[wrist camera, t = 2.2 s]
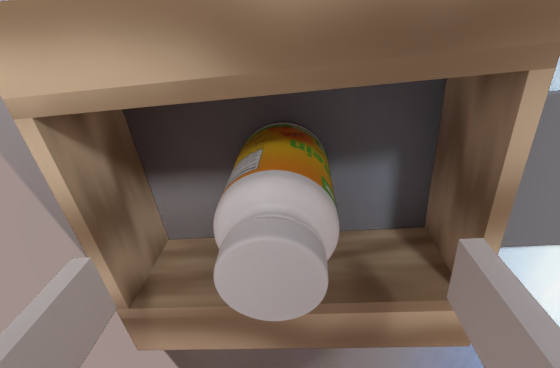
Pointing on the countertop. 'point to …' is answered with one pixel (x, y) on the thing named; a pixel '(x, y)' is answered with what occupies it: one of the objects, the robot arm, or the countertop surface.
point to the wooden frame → (271, 81)
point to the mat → (539, 185)
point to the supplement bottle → (276, 225)
